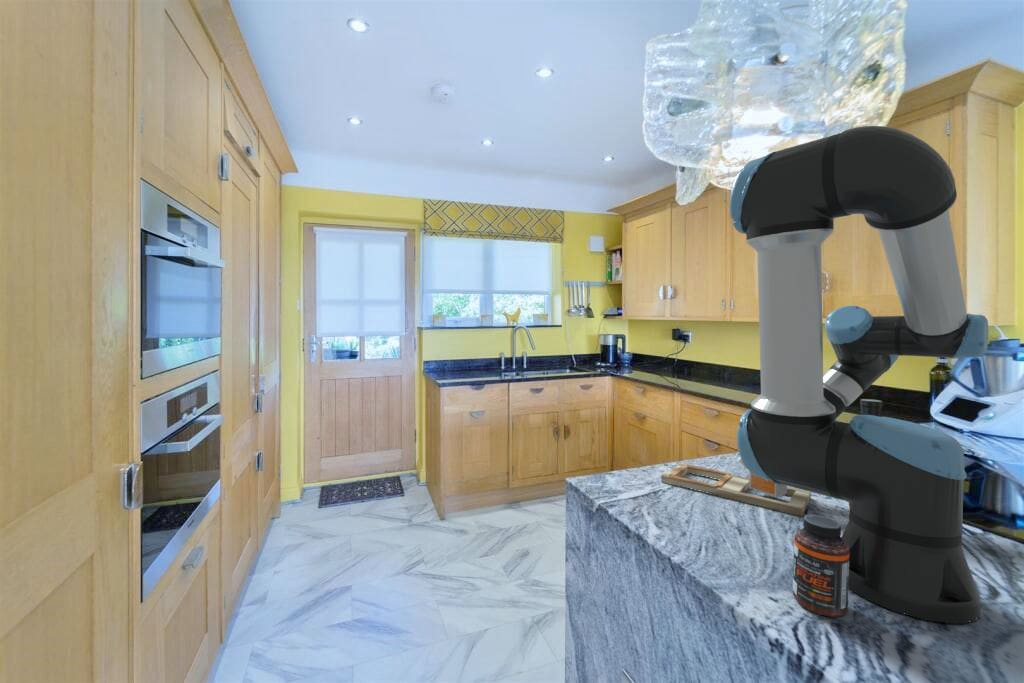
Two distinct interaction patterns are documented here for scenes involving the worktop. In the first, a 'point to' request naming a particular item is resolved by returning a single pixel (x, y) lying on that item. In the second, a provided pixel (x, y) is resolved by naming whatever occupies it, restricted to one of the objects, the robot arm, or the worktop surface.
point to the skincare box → (766, 486)
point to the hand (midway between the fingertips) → (751, 469)
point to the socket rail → (735, 488)
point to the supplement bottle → (821, 567)
